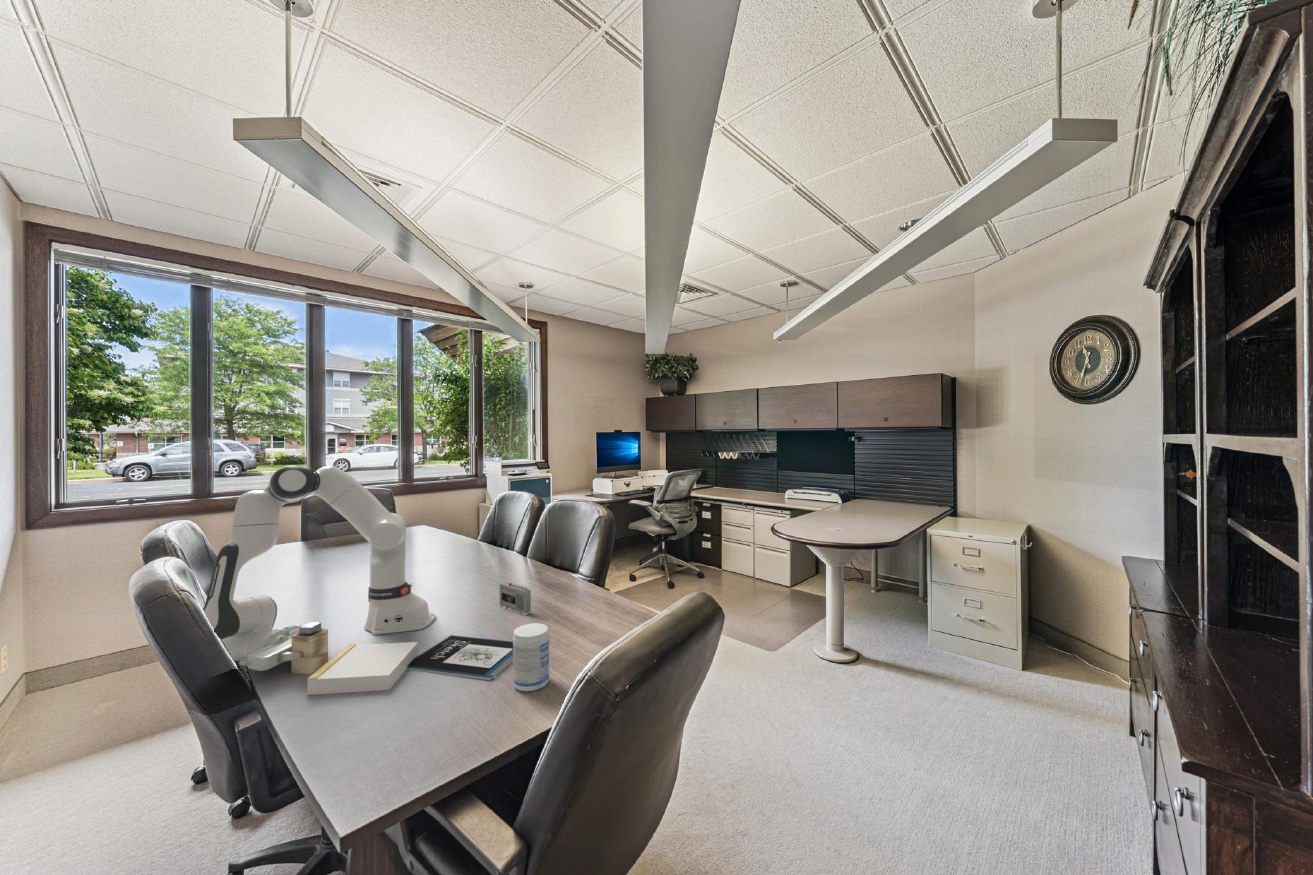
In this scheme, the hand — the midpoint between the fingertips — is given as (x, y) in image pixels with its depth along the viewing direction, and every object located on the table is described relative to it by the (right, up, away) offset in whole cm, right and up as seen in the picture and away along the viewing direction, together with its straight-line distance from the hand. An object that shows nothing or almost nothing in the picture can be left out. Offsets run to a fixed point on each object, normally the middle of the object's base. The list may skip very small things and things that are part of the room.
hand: (312, 649), depth 134 cm
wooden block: (-1, -6, 0) cm, 6 cm away
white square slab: (+18, -6, -3) cm, 19 cm away
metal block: (-1, +3, 0) cm, 4 cm away
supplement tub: (+66, -6, -8) cm, 66 cm away
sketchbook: (+43, -6, +7) cm, 44 cm away
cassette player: (+45, -6, +46) cm, 64 cm away
